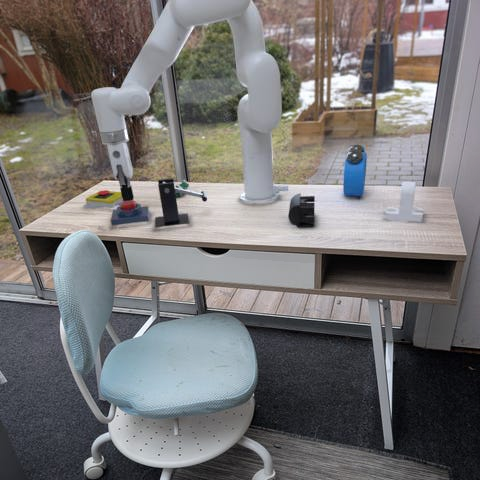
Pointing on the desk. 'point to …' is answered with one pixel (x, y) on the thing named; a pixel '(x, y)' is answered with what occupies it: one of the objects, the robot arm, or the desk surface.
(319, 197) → the desk surface
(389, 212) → the cable organizer
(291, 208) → the end cap
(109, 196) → the emergency button
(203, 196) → the lever
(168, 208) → the bracket
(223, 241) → the desk surface
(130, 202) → the button
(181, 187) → the gaming controller
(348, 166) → the alarm clock
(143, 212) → the button box
